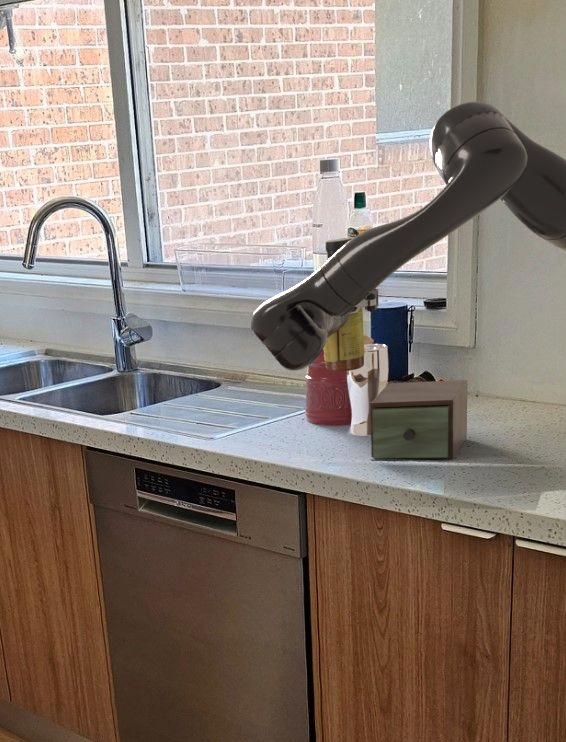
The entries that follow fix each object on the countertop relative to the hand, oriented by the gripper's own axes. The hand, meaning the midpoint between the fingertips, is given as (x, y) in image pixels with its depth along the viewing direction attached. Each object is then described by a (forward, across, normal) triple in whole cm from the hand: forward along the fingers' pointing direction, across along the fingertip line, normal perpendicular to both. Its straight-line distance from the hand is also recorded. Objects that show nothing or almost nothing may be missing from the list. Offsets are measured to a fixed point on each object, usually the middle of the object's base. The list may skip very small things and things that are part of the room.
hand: (345, 295), depth 193 cm
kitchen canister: (+23, +7, +26) cm, 35 cm away
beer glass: (+12, 0, +26) cm, 28 cm away
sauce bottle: (-2, 0, +11) cm, 12 cm away
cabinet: (+1, -11, +26) cm, 28 cm away
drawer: (-1, -11, +25) cm, 27 cm away
